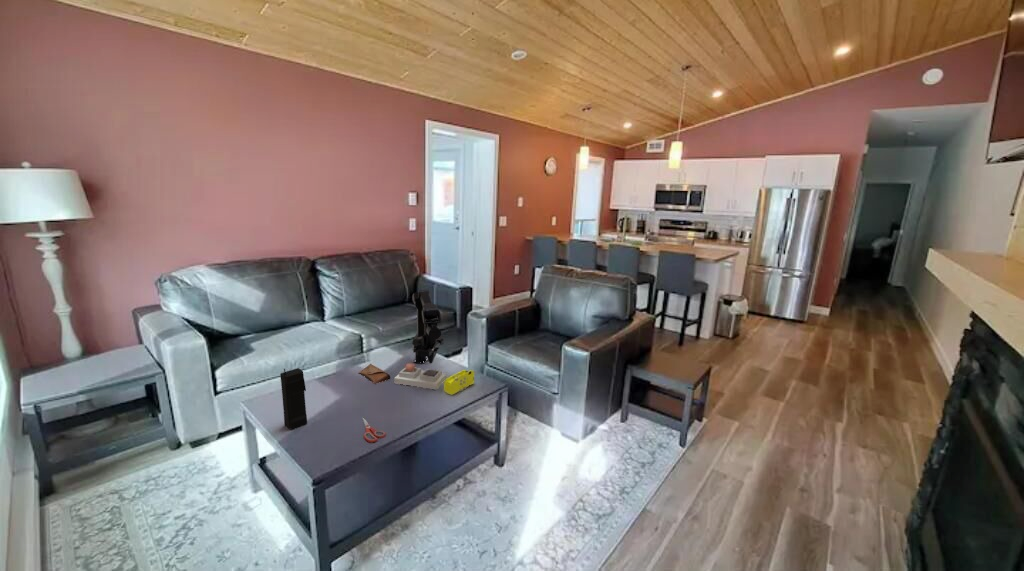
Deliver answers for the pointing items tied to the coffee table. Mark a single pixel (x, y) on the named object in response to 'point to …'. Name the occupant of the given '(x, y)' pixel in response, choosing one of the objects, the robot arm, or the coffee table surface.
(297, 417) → the portable radio
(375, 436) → the scissors
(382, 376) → the sunglasses case
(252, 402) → the coffee table surface
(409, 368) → the pink rounded ball
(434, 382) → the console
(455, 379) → the yellow toy chassis
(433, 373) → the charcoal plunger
